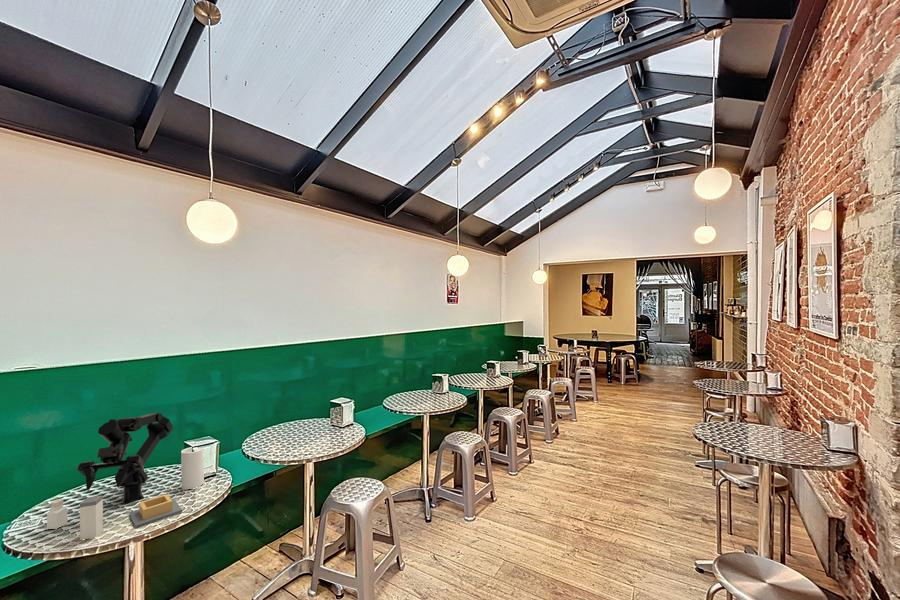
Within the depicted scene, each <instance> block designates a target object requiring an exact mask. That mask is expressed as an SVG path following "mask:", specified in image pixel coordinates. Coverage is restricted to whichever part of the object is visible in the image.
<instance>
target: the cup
mask: <svg viewBox="0 0 900 600" xmlns="http://www.w3.org/2000/svg"><path fill="white" fill-rule="evenodd" d="M192 447H193V446H191V447H190V446H189V447H187V448H184V449H182V450H181V452H180V454H181V455H180V457H181V458H180V463H181V464H180V467H181V469H180V470H181V471H180V472H181V473H180V477H181V490H182V489H185V490H184V491H187V490H186V489H192V490H194V489H193V488H196V487H199V486H201V485H202V484H203V485H204V484H205V465H204V463H205V461H204V447H203V448H202V449H200V450H198V451H194V452H192ZM203 485H202V486H203ZM202 486H201V487H202ZM199 488H200V487H199ZM196 489H197V488H196Z"/></svg>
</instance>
